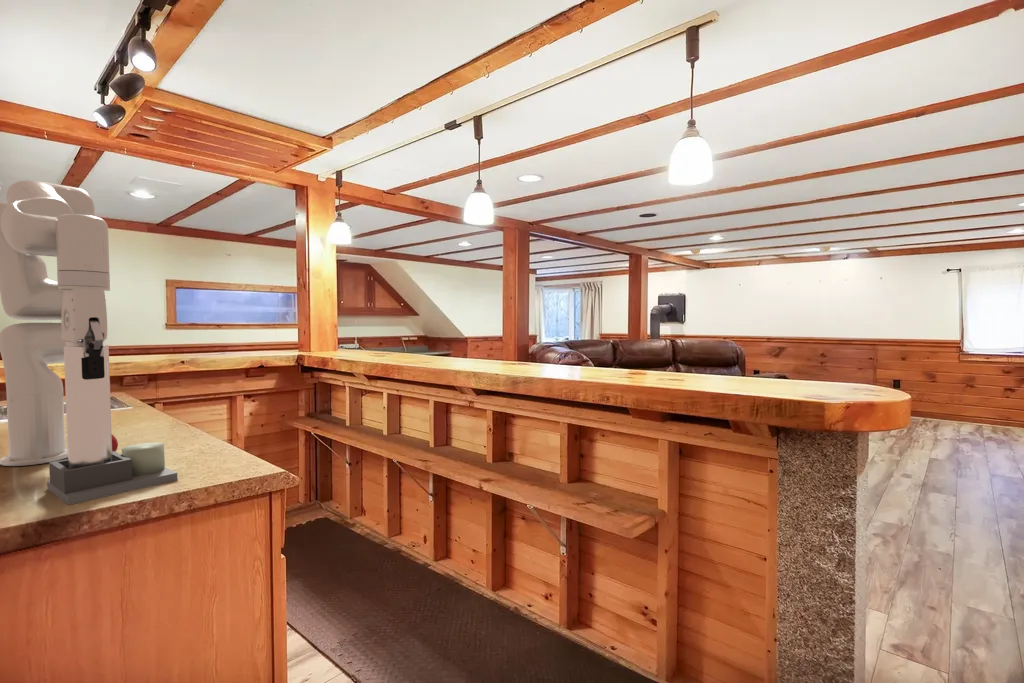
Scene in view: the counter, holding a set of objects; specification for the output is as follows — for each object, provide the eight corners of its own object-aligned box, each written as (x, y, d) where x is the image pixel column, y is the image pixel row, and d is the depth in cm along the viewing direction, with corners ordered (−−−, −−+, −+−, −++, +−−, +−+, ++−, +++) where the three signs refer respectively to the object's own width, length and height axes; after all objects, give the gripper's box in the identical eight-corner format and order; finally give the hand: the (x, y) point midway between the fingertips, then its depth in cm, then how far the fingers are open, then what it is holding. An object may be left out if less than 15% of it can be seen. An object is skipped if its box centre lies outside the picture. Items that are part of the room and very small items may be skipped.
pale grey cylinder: (93, 476, 93) (88, 341, 92) (58, 476, 93) (53, 341, 92) (121, 466, 100) (117, 339, 98) (88, 465, 100) (84, 339, 99)
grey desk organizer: (47, 488, 97) (46, 455, 96) (151, 467, 110) (150, 438, 110) (68, 504, 88) (66, 468, 88) (177, 480, 102) (176, 448, 102)
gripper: (45, 282, 97) (49, 376, 98) (71, 278, 87) (75, 383, 87) (95, 285, 103) (98, 372, 104) (124, 281, 93) (127, 378, 93)
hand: (87, 376), depth 95 cm, fingers closed on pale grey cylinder, 6 cm apart
